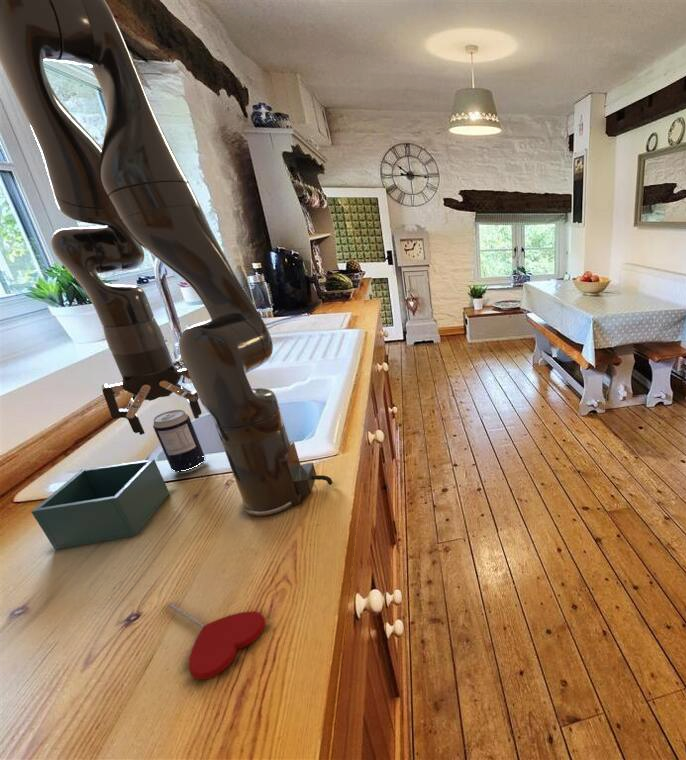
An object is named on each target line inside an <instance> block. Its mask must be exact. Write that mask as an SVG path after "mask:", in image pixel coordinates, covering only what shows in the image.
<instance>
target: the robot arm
mask: <svg viewBox="0 0 686 760" xmlns="http://www.w3.org/2000/svg"><path fill="white" fill-rule="evenodd" d="M120 29H121V28H120V27H119V25H118V22H117V21H116V18H115V16H114V14H113V12H112V10H111V8H110V7H109V5H108V3H107V2H106V0H0V64H1V66H2V69H3V71H4V74H5V75H6V78H7V80H8V82H9V84H10V86H11V88H12V90H13V93H14V95H15V97H16V99H17V101H18V103H19V105H20V107H21V110H22V112H23V114H24V116H25V118H26V120H27V122H28V124H29V126H30V129H31V130H32V132H33V136H34V137H35V140H36V142H37V145H38V147H39V150H40V152H41V155H42V159H43V162H44V164H45V169H46V172H47V176H48V179H49V182H50V186H51V189H52V192H53V196H54V199H55V203H56V205H57V208H58V209H59V210H60V212H61V213H62V214H63V215H65V216H66V217H67V218H70V219H71V220H75V221H77V222H82V223H85V224H92V225H99V226H90V227H69V228H61V229H58V230H56V231H55V232H54V233H53V235H52V237H51V240H50V244H51V245H50V246H51V249H52V251H53V253H54V255H55V257H56V258H57V259H58V261H59V262H60V263H61V264H62V265H63V267H65V269H66V270H67V271H68V272H69V274H71V276H72V277H73V278H74V279H75V280H76V281H77V282H78V284H79V285H80V287H81V288H82V289H83V291H84V293H86V295H87V297H88V298H89V300H90V302H91V303H92V306H93V308H94V310H95V312H96V315H97V317H98V319H99V321H100V324H101V326H102V330H103V333H104V337H105V340H106V343H107V346H108V349H109V350H110V352H111V355H112V357H113V359H114V361H115V364H116V366H117V369H118V371H119V373H120V375H121V378H122V381H121V382H120V383H115V384H109V383H104V384H102V386H101V390H102V395H103V397H104V399H105V402H106V405H107V408H108V411H109V414H110V416H111V418H112V419H115V420H118V419H127V421H128V423H129V425H130V428H131V430H132V432H133V433H134V434H137V433H138V434H139V435H140V436H143V435H145V434H146V433H145V430H144V427H143V424H142V423H141V421H140V418H139V416H138V414H137V413H138V411H139V409H140V408H141V407H142V405H143V403H144V401H149V402H151V401H154V400H155V401H156V400H157V399H159V398H167V397H170V396H171V395H172V394H173V393H174V394H175V395H177V396H179V397H182V398H184V399H187V403H188V405H189V408H190V411H191V413H192V417H193V418H194V419H195V420H197V419H200V415H202V410H201V406H200V404H202V406H203V407H204V409H205V410H206V411H207V412H208V413H209V415H210V416H211V417H212V420H213V422H214V425H215V428H216V431H217V433H218V436H219V439H220V442H221V444H222V447H223V450H224V453H225V455H226V459H227V461H228V464H229V467H230V469H231V472H232V475H233V477H234V481H235V482H236V486H237V488H238V491H239V495H240V496H241V500H242V503H243V507H244V509H245V511H246V513H247V514H249V515H250V516H255V517H265V516H271V515H275V514H278V513H281V512H283V511H285V510H287V509H289V508H291V507H293V506H297V505H300V502H301V501H302V497H303V495H307V494H308V495H309V494H312V491H313V488H314V484H315V481H316V480H317V481H318V480H319V481H320V480H322V481H326V482H327V484H328V485H329V486H331V485H333V483H334V482H333V480H332V478H331V477H330V476H327V475H322V474H321V475H317V473H316V469H315V465H314V462H309V463H308V462H307V463H303V464H301V462H300V459H299V455H298V450H297V447H296V444H295V442H294V440H291V441H290V439H289V436H288V432H287V429H286V425H285V421H284V418H283V415H282V411H281V407H280V404H279V401H278V397H277V395H276V393H275V392H274V391H273V390H272V389H269V388H263V387H252V386H251V383H250V382H249V379H248V377H247V374H249V373H250V372H252V371H253V370H254V371H255V370H256V369H257V368H260V367H261V366H263V365H264V364H266V363H268V362H269V360H270V359H271V357H272V356H273V351H274V344H273V339H272V336H271V333H270V331H269V328H268V327H267V325H266V323H265V322H264V319H263V318H262V316H261V315H260V314H259V313H260V312H259V311H258V310H257V308H256V307H255V305H254V304H253V302H252V300H251V299H250V297H249V296H248V294H247V292H246V290H245V289H244V287H243V286H242V284H241V282H240V281H239V279H238V277H237V276H236V274H235V272H234V270H233V268H232V267H231V265H230V263H229V261H228V259H227V257H226V255H225V254H224V252H223V249H222V248H221V246H220V244H219V242H218V240H217V238H216V237H215V234H214V233H213V230H212V229H211V227H210V224H209V222H208V220H207V218H206V214H205V213H204V211H203V208H202V206H201V205H200V202H199V200H198V199H197V196H196V194H195V192H194V190H193V188H192V186H191V184H190V183H189V181H188V178H187V177H186V175H185V173H184V171H183V169H182V167H181V165H180V164H179V162H178V160H177V158H176V156H175V154H174V152H173V150H172V148H171V145H170V143H169V141H168V140H167V137H166V136H165V133H164V131H163V129H162V127H161V126H160V125H161V124H160V123H159V120H158V118H157V116H156V115H155V112H154V110H153V108H152V106H151V103H150V100H149V99H148V95H147V93H146V91H145V89H144V85H143V83H142V81H141V78H140V76H139V72H138V71H137V69H136V66H135V64H134V61H133V58H132V56H131V53H130V50H129V49H128V47H127V44H126V42H125V39H124V37H123V35H122V32H121V30H120ZM44 61H49V62H50V61H53V62H56V63H57V62H59V63H65V64H71V65H81V66H87V67H88V68H89V69H90V71H92V73H93V75H94V76H95V78H96V81H97V83H98V85H99V87H100V90H101V92H102V96H103V99H104V102H105V107H106V126H105V131H104V137H103V142H102V146H101V145H100V144H99V143H98V141H97V140H96V139H95V138H94V137H93V136H92V135H91V134H90V133H89V132H88V130H86V129H85V128H84V127H83V125H82V124H81V123H80V122H79V121H78V120H77V119H76V118H75V117H74V116H73V114H71V113H70V111H69V110H68V108H66V106H65V105H64V104H63V103H62V101H61V100H60V99H59V97H58V96H57V94H56V93H55V91H54V89H53V87H52V85H51V83H50V80H49V78H48V76H47V72H46V70H45V65H44ZM144 250H145V251H148V253H149V254H151V255H152V256H153V257H154V258H156V259H157V260H158V261H160V262H161V263H163V264H164V265H165V266H166V267H168V268H169V269H170V270H171V271H173V272H174V273H176V274H177V275H178V277H180V278H182V280H184V281H185V282H186V283H187V284H188V285H189V286H190V287H191V289H192V290H193V291H194V292H195V293H196V295H197V296H198V297H199V299H200V300H201V302H202V305H203V306H204V307H205V310H206V311H207V313H208V315H209V317H210V319H208V320H205V321H202V322H199V323H196V324H193V325H191V326H190V327H188V328H186V329H185V330H184V331H183V332H182V333H181V335H180V338H179V352H180V356H181V359H182V363H183V366H184V367H185V368H182V369H177V368H176V366H175V364H174V361H173V358H172V356H171V354H170V351H169V348H168V346H167V342H166V340H165V337H164V335H163V332H162V330H161V328H160V326H159V324H158V321H157V320H156V318H155V316H154V312H153V310H152V307H151V304H150V303H149V300H148V297H147V295H146V292H145V291H144V289H143V288H141V287H140V286H137V285H130V284H111V283H107V282H106V281H103V280H102V279H101V278H100V277H99V275H98V274H105V273H115V272H124V271H125V272H126V271H132V270H133V271H134V270H135V269H138V268H140V267H141V266H142V265H143V263H144V261H145V251H144ZM182 376H183V377H185V378H186V379H187V380H190V381H191V383H192V385H193V388H194V390H190V389H188V388H186V387H184V386H183V385H181V384H179V382H180V380H181V378H182ZM122 390H124V391H125V392H128V393H130V394H131V397H130V399H129V402H128V404H127V406H126V407H125V408H119V405H118V401H117V399H116V398H117V397H119V396H120V393H121V391H122ZM198 400H199V401H200V403H199V401H198Z"/></svg>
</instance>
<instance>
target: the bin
mask: <svg viewBox="0 0 686 760" xmlns="http://www.w3.org/2000/svg"><path fill="white" fill-rule="evenodd" d="M157 464H158V463H157V462H156V461H155V459H154V458H153V459H147V460H146V459H145V460H140V461H133V462H132V461H131V462H124V463H118V464H112V465H105V466H98V467H91V468H90V467H89V468H84V469H83V468H82V469H81V470H80V471H78V472H77V473H76V474H75V475H73V476H72V477H71V478H69V480H67V481H66V482H65V483H64V484H62V485H61V486H60V487H59V488H58V489H56V490H55V491H54V492H53V493H52V494H50V495H49V496H48V497H46V499H44V500H43V501H42V502H40V504H38V505H37V506H36V507H34V508H33V509H32V510H31V511H30V512H31V515H32V516H33V518H34V519H35V521H36V522H37V523H38V525H39V527H40V528H41V530H42V532H43V533H44V535H45V536H46V538H47V539H48V541H49V542H50V544H51V545H52V547H53V549H54V550H56V551H57V550H61V549H62V550H63V549H66V548H73V547H79V546H84V545H85V546H86V545H89V544H95V543H100V542H107V541H112V540H117V539H118V540H119V539H123V538H128V537H134V536H137V535H138V533H139V532H140V531H141V530H142V529H143V527H144V526H145V525H146V524H147V523H148V521H149V520H150V519H151V517H152V515H154V514H155V512H156V511H157V510H158V509H159V507H160V506H161V505H162V504H163V502H164V501H165V499H167V497H168V496H169V495H170V491H169V489H168V487H167V484H166V482H165V480H164V478H163V476H162V473H161V471H160V469H159V466H158V465H157Z"/></svg>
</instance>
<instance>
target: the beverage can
mask: <svg viewBox="0 0 686 760" xmlns="http://www.w3.org/2000/svg"><path fill="white" fill-rule="evenodd" d="M152 421H153V425H152V428H153V430H154V433H155V435H156V438H157V439H158V442H159V443H160V446H161V448H162V451H163V453H164V455H165V458H166V460H167V462H168V464H169V467H170V469H171V471H172V472H175V473H179V474H188V473H191V472H194V471H196V470H199V469H200V468H201V467H202V465H203V464H204V462H205V461H206V459H205V460H204V457H202V456H205V454H204V451H203V448H202V446H201V444H200V440H199V438H198V436H197V433H196V430H195V428H194V425H193V422H192V420H191V418H190V416H189V415H188V414H187V413H186V411H185V410H184V409H174V410H173V409H172V410H168V411H165V412H162V413H160V414H157V415H156V416H155V417H153V420H152ZM203 461H204V462H203ZM201 462H203V463H201ZM199 463H201V464H200V465H198V464H199ZM196 465H198V466H197V467H194V466H196ZM192 467H194V468H192ZM189 468H192V469H189ZM172 469H173V470H175V471H173V470H172ZM186 469H189V470H186ZM181 470H186V471H181ZM177 471H179V472H177Z"/></svg>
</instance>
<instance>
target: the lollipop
mask: <svg viewBox="0 0 686 760" xmlns="http://www.w3.org/2000/svg"><path fill="white" fill-rule="evenodd" d="M166 606H167V607H169V608H170V609H171V610H173V611H174V612H176V613H178V614H180V615H181V616H182V617H184V618H186V619H187V620H189V621H191V622H192V623H193V624H195V625H197V627H199V628H201V630H200V632H199V633H198V635H197V638H196V640H195V641H194V644H193V645H192V649H191V652H190V655H189V659H188V670H189V673H190V675H191V676H192V677H193V678H195V679H198V680H208V679H211V678H214V677H215V676H217V675H219V674H220V673H222V672H223V671H225V670H226V669H227V668H228V667H229V666H230V665H231V664H232V663H233V661H234V659H235V657H236V655H237V651H238V649H243V648H246V647H247V646H249V645H251V644H252V643H254V642H256V640H257V639H258V638H259V637H260V636H261V635H262V633H263V631H264V629H265V626H266V619H265V617H264V615H263V614H262V613H261V612H257V611H243V612H242V611H241V612H238V613H233V614H230V615H227V616H224V617H221V618H219V619H216V620H213V621H211V622H208V623H206V624H204V623H202V622H201V621H199V620H198V619H196V618H194V617H193V616H191V615H190V614H188V613H186V612H185V611H183V610H182V609H180V608H179V607H177V606H176V605H174V604H172V603H171V602H168V603H167V604H166Z"/></svg>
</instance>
